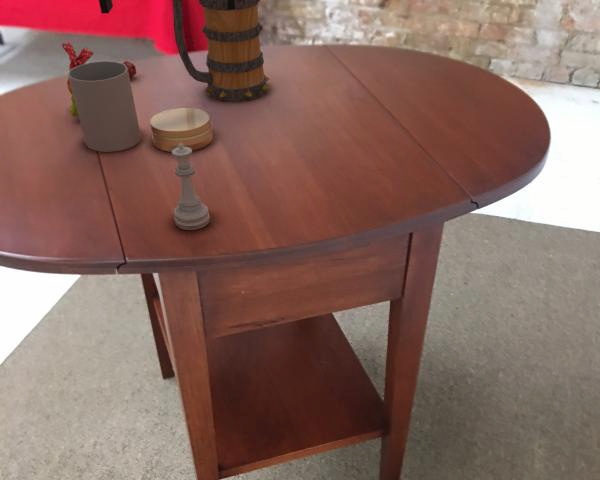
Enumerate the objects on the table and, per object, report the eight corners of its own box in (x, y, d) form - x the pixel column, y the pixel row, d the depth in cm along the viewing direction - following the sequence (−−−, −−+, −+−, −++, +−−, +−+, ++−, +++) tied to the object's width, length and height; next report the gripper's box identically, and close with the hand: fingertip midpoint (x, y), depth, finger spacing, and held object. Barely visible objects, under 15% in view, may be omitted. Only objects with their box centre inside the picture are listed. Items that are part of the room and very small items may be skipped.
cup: (119, 155, 94) (102, 84, 87) (74, 146, 97) (55, 76, 90) (151, 133, 99) (138, 65, 92) (108, 125, 102) (93, 58, 95)
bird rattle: (65, 126, 108) (76, 120, 100) (40, 53, 103) (49, 41, 95) (101, 118, 110) (113, 111, 102) (77, 47, 105) (89, 34, 98)
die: (137, 75, 119) (134, 57, 117) (137, 80, 117) (133, 63, 114) (121, 76, 118) (118, 58, 116) (121, 81, 116) (117, 64, 114)
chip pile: (139, 143, 97) (135, 123, 95) (181, 122, 102) (178, 103, 100) (185, 158, 93) (182, 137, 91) (226, 135, 98) (224, 116, 96)
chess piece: (208, 230, 78) (197, 151, 71) (172, 230, 79) (158, 151, 71) (211, 212, 82) (201, 135, 74) (177, 213, 82) (164, 135, 75)
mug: (285, 95, 110) (281, -43, 96) (192, 114, 105) (172, -29, 91) (256, 73, 118) (248, -57, 104) (168, 89, 113) (146, -45, 99)
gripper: (274, -279, 57) (283, -5, 72) (-5, -271, 56) (63, 2, 72) (274, -284, 51) (284, 14, 66) (-34, -275, 51) (46, 21, 66)
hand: (169, 8), depth 69 cm, fingers open, 13 cm apart
